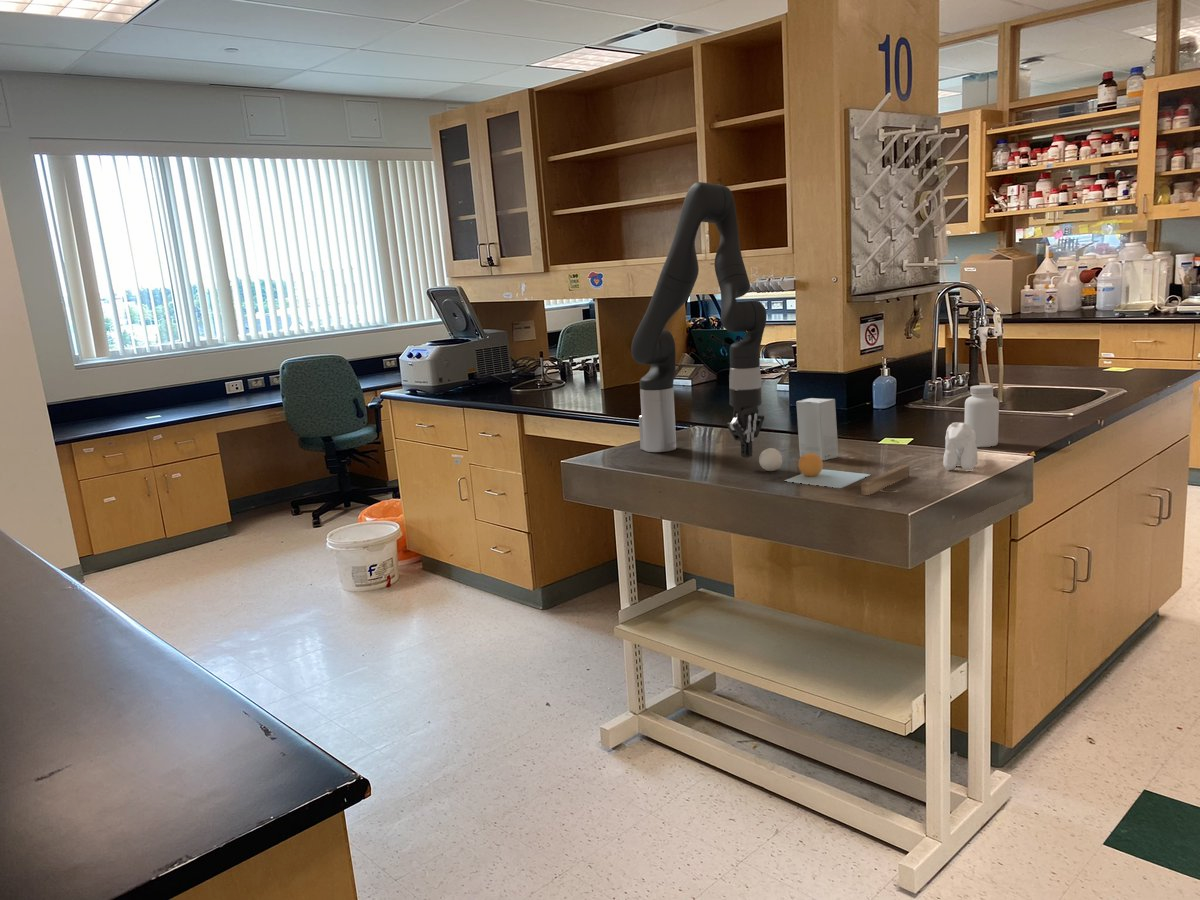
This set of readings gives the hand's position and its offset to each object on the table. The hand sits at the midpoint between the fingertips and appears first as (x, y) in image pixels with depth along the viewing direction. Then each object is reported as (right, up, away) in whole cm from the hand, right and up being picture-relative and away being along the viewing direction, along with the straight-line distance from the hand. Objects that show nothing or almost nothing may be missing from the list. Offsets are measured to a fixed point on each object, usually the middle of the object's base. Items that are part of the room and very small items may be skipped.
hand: (746, 456), depth 211 cm
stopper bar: (+26, -6, -23) cm, 35 cm away
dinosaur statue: (+48, -3, -12) cm, 49 cm away
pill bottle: (+62, +3, +11) cm, 63 cm away
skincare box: (+19, 0, +9) cm, 21 cm away
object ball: (+13, -2, -11) cm, 17 cm away
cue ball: (+5, -1, -3) cm, 6 cm away
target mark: (+16, -5, -14) cm, 22 cm away
